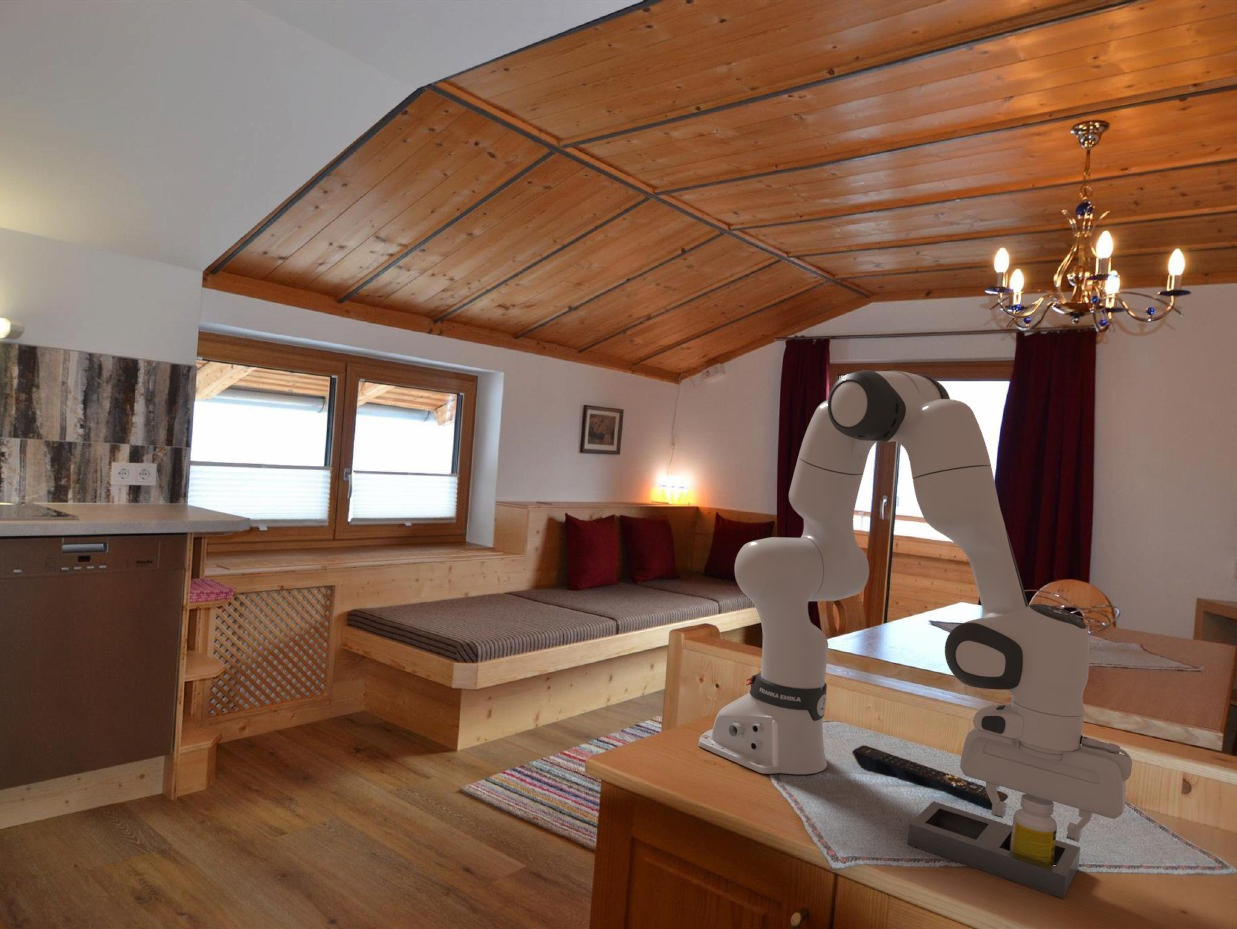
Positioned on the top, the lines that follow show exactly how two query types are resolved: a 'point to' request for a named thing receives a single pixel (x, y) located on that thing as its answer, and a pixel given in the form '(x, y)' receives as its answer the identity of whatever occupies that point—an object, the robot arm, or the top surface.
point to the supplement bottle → (1034, 829)
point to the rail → (990, 848)
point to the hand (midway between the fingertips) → (1034, 827)
